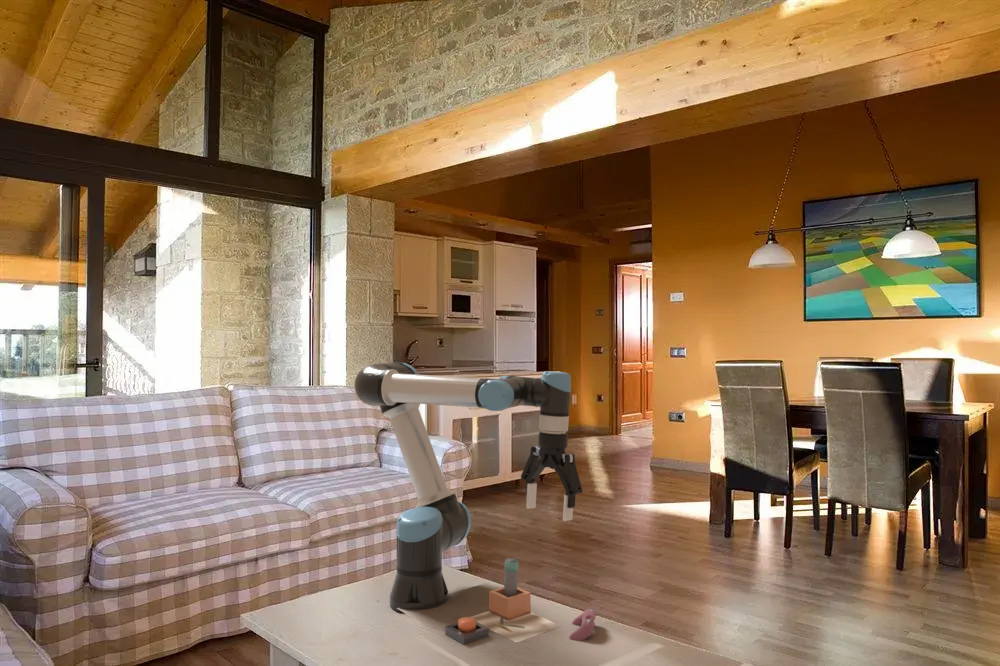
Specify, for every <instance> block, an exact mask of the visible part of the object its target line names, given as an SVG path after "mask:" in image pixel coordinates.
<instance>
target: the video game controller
mask: <svg viewBox="0 0 1000 666" xmlns="http://www.w3.org/2000/svg"><path fill="white" fill-rule="evenodd" d="M596 616H597V612H596V611H595V610H593V609H589V608H587V609H585V610H584V611H583V612H582V613H581V614H579V616H577V617H575V618H574V619H573V620H572V622H571V624H572V625H574V626H580V627H578V628H577V629H576V630H574V631H573V632H572V633H571V634H570V635H569V637H568V639H569V640H573V641H585V640H586V639H588V638H590V637H591V635H594V634H595V633H596V629H595V624H596V623H595V619H596Z"/></svg>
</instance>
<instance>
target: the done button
mask: <svg viewBox="0 0 1000 666" xmlns="http://www.w3.org/2000/svg"><path fill="white" fill-rule="evenodd" d="M457 623H458V630H459V631H461V632H463V633H468V632H471V631H474V630H476V619H474V618H472V617H471V616H465V617H460V618H459V619H458V620H457Z"/></svg>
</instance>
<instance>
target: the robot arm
mask: <svg viewBox="0 0 1000 666" xmlns="http://www.w3.org/2000/svg"><path fill="white" fill-rule="evenodd" d="M541 374H542V375H541V377H529V376H527V377H526V376H518V375H517V376H516V375H501V376H500V377H499V378H489V377H488V378H487V377H486V378H483V377H482V378H481V377H467V376H465V377H464V376H451V375H450V376H449V375H432V374H431V375H430V374H419V372H418V370H416V368H414V367H413V366H412V365H410V364H408V363H405V362H400V361H393V362H386V363H385V362H384V363H371V364H368V365H366V366H364V367H363V368H362V369H361V370H360V371H359V372H357V375H356V377H355V380H354V391H355V394H356V396H357V397H358V399H359V400H360V401H361V402H362V403H364V404H365V405H367V406H372V407H379V408H380V411H381V414H382V416H383V417H385V418H388V419H389V420H390V423H391V426H392V429H393V432H394V435H395V437H396V440H397V443H398V446H399V448H400V452H401V455H402V457H403V460H404V463H405V466H406V468H407V471H408V475H409V477H410V479H411V480H410V481H411V482H412V483H411V484H412V486H413V488H414V491H415V493H416V497H417V503H416V505H415V508H409V509H407V510H404V511H403V512H401V513H400V515H399V516H398V517H397V520H396V528H395V534H396V575H395V579H394V581H393V584H392V588H391V592H390V594H389V606H390V607H391V608H392V610H394V611H397V612H399V613H402V614H403V613H405V612H404V611H401V610H400V609H403V610H411V611H412V610H413V611H414V610H416V611H422V610H429V609H435V608H437V607H441V606H442V605H445V604H446V603H447V602H448V601H449V597H450V594H449V589H448V587H447V583H446V581H445V577H444V575H443V553H444V552H446V551H447V550H449V549H450V548H453V547H454V546H455V547H456V546H457V545H459V544H460V543H461V542H462V541H464V539H465V538H466V537H467V536H468V534H469V532H470V530H471V526H472V518H471V517H472V516H471V513H470V510H469V509H468V507H467V506H466V505H465V504H464V503H462V502H461V501H459V500H458V498H457V496H456V493H455V491H453V490H451V489H449V488H448V487H447V483H446V480H445V478H444V475H443V473H442V469H441V467H440V464H439V462H438V459H437V455H436V453H435V451H434V448H433V445H432V443H431V440H430V437H429V434H428V431H427V429H426V426H425V422H424V420H423V417H422V415H421V412H420V409H419V408H420V406H421V405H433V406H448V407H449V406H450V407H463V408H474V409H475V408H476V409H485V410H487V411H491V412H500V411H504V410H507V409H510V408H515V407H519V406H524V407H535V408H539V409H540V411H539V423H538V429H539V430H540V431H539V432H538V440H537V443H538V446H531V448H530V453H529V456H528V459H527V461H526V463H525V465H524V468H523V470H522V472H521V474H520V479H521V480H524V482H525V483H526V484H525V485H526V486H525V495H526V502H525V503H526V504H525V509H527V510H529V509H536V508H537V507H536V505H537V503H536V502H537V489H538V487H537V486H538V483H537V481H536V480H538V478H539V476H540V475H541V474H542V472H543V471H544V470H545V469H546V468H549V469H552V470H554V471H555V472H556V474H557V475H558V477H559V480H560V482H561V484H562V485H563V489H564V490H565V493H564V494H563V507H562V509H563V511H562V522H569V521H573V516H574V515H573V514H574V508H575V506H576V496H577V495H578V494H582V493H583V488H582V484H581V481H580V477H579V472H578V470H577V467H576V462H575V460H576V456H575V454H574V453H571V454H570V453H567V454H566V448H567V447H568V443H569V442H568V440H569V434H568V433H567V432H568V431H569V421H570V406H571V404H570V403H571V394H572V393H571V392H572V388H571V387H572V385H571V384H572V382H571V378H572V377H571V374H570V373H568V372H566V371H565V372H563V371H550V370H548V371H547V370H546V371H543V372H542V373H541Z"/></svg>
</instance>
